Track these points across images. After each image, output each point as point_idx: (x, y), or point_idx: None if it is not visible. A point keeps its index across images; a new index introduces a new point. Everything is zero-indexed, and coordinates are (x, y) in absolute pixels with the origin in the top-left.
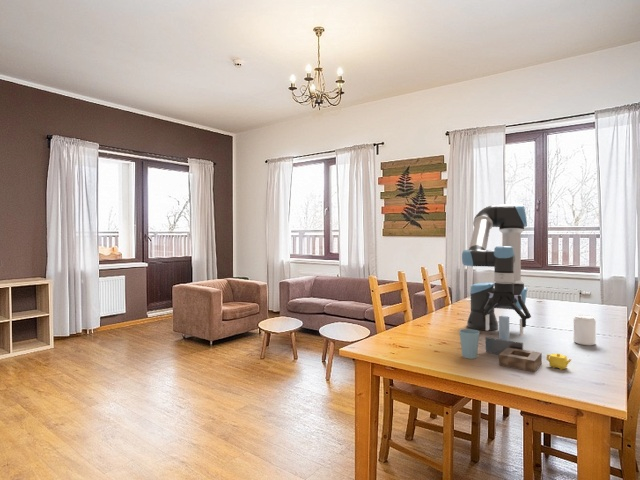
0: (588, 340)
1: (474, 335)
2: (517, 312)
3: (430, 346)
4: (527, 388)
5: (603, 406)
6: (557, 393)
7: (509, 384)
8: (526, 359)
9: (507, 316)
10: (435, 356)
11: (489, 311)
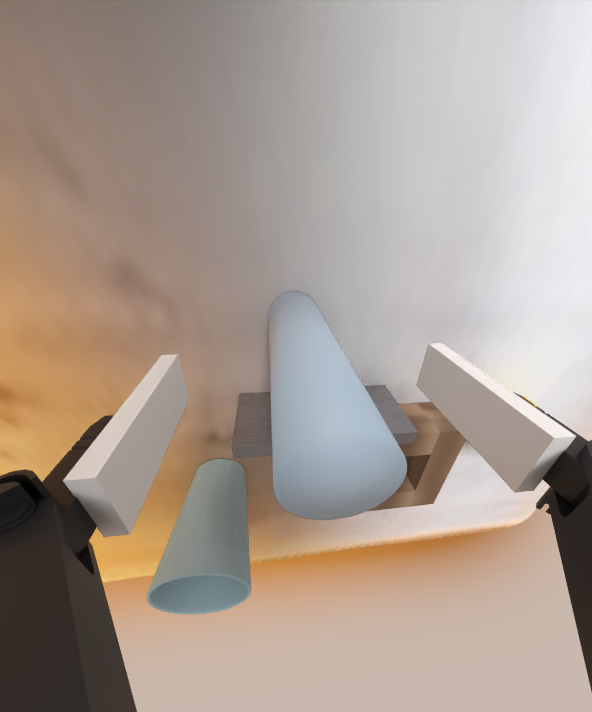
0: None
1: (241, 590)
2: (584, 599)
3: (23, 465)
4: (396, 538)
5: (502, 527)
6: (444, 528)
7: (365, 541)
8: (411, 505)
9: (381, 443)
10: (141, 521)
11: (64, 553)
